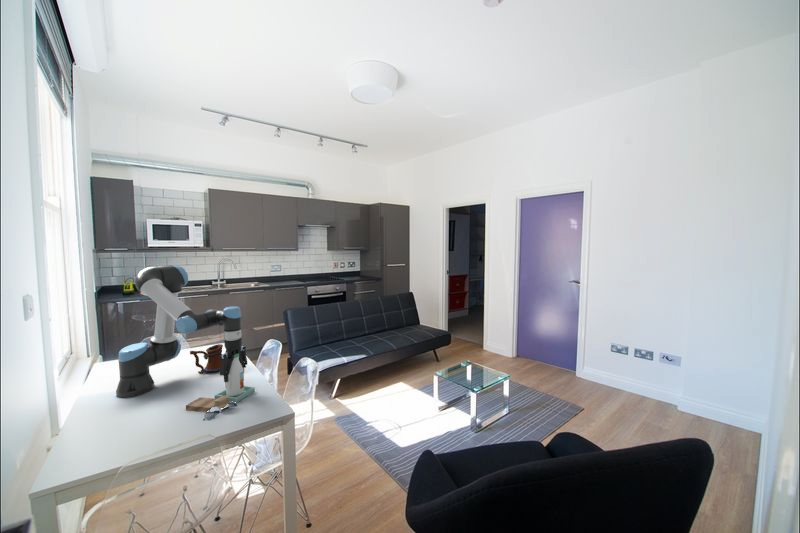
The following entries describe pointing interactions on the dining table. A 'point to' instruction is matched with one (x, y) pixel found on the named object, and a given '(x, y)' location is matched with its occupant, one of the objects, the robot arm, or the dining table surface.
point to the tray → (237, 398)
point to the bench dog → (222, 401)
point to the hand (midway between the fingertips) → (234, 384)
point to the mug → (210, 359)
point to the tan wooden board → (201, 404)
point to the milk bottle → (236, 377)
